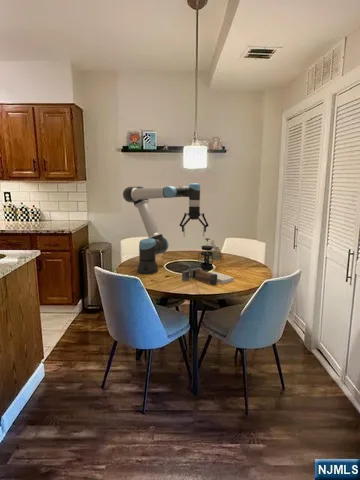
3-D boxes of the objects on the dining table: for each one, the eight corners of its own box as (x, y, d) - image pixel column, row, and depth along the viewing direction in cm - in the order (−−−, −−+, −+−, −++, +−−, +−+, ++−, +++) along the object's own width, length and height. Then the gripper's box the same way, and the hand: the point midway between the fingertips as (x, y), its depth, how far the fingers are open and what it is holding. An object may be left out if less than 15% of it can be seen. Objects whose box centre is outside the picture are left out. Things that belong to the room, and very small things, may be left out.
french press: (211, 266, 251) (212, 237, 247) (214, 269, 242) (215, 239, 238) (197, 266, 249) (197, 237, 245) (199, 270, 240) (200, 239, 236)
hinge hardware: (188, 282, 211) (188, 271, 209) (181, 279, 216) (181, 269, 214) (205, 277, 221) (205, 267, 220) (198, 275, 226) (198, 265, 225)
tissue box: (207, 255, 289) (207, 238, 286) (218, 255, 289) (218, 238, 286) (208, 260, 271) (209, 241, 268) (220, 260, 270) (220, 242, 268)
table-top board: (222, 284, 208) (222, 280, 208) (201, 277, 222) (202, 273, 222) (233, 280, 215) (233, 277, 215) (212, 274, 229) (213, 271, 229)
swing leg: (212, 285, 205) (213, 275, 204) (195, 279, 217) (195, 270, 216) (216, 283, 208) (217, 274, 206) (199, 277, 220) (199, 269, 219)
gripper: (211, 205, 226) (210, 235, 229) (176, 205, 225) (175, 235, 229) (213, 206, 218) (212, 237, 222) (176, 206, 218) (176, 237, 221)
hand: (193, 236), depth 225 cm, fingers open, 13 cm apart
